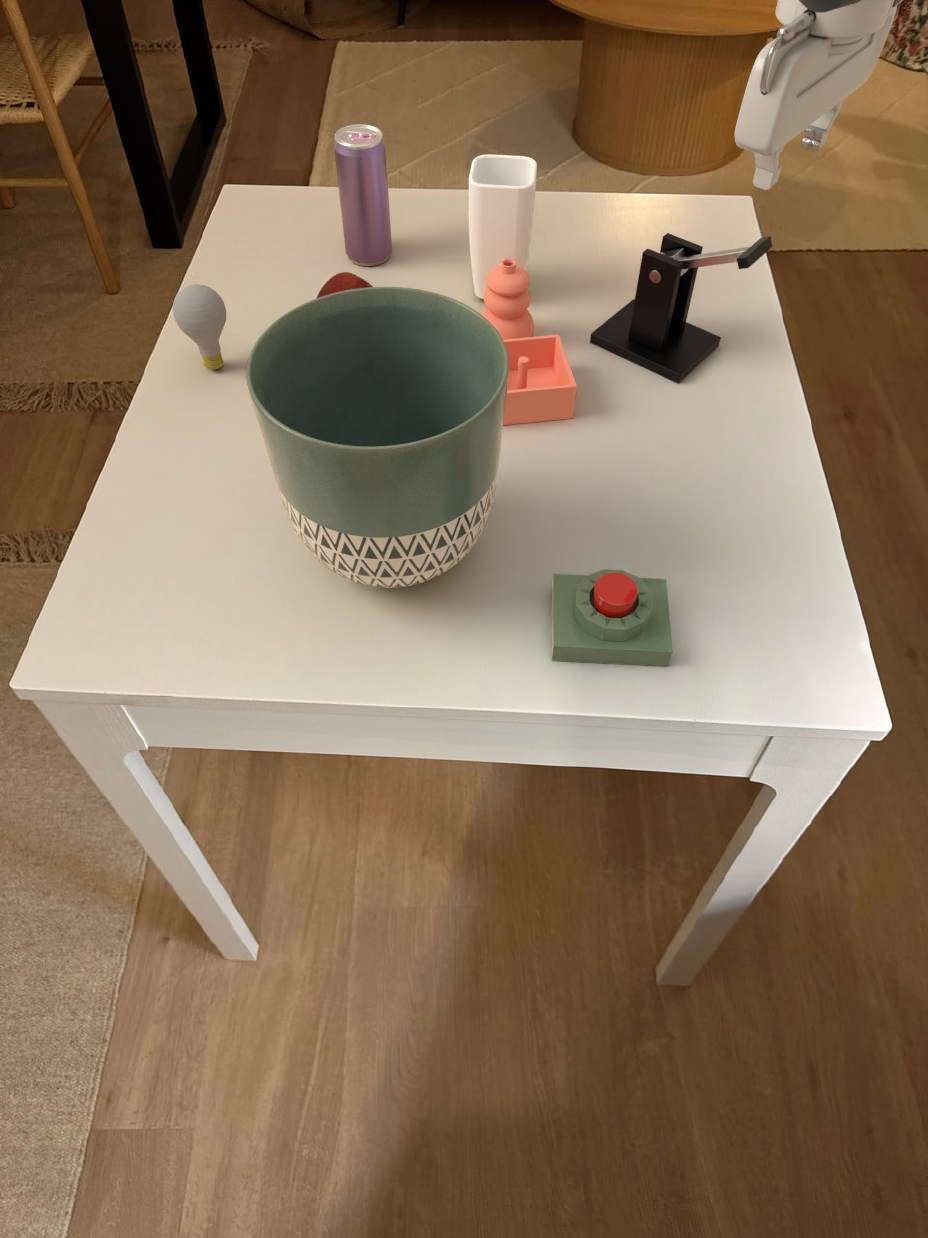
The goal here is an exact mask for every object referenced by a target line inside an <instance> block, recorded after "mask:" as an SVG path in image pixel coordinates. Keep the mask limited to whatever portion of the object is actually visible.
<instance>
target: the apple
mask: <svg viewBox="0 0 928 1238" xmlns="http://www.w3.org/2000/svg"><path fill="white" fill-rule="evenodd" d="M368 287H374V286H373V285H372V284H371V283H370V282H369V281H367V280H365V279H364V278H362V277H360V276H358V275H357V274H355V273H352V272H348V271H344V272H343V271H342V272H339V273H336V274H335V275H332V276H331V277H330V278H329V279H328V280H327V281H326V282H325V283H324V284H323V285H322V287H321V288H320V290H319V292H318V293H317V296H316V298H315V299H317V298H319V297H323V296H326V295H329V294H333V293H337V292H341V291H346V290H352V289H358V288H368Z"/></svg>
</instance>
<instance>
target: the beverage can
mask: <svg viewBox="0 0 928 1238" xmlns="http://www.w3.org/2000/svg"><path fill="white" fill-rule="evenodd" d="M333 150H334V160H335V169H336V176H337V177H336V178H337V186H338V187H337V188H338V195H339V196H338V197H339V203H340V204H339V205H340V213H341V222H342V231H343V238H344V249H345V254H346V256H347V257H348V259H349V260H350V261H351V262H352V263H353V264H355V265H358V266H362V267H374V266H379V265H382V264H383V263H386V262H387V261H388V259H389V258H390V257H391V254H392V253H393V242H392V227H391V225H392V224H391V212H390V211H391V210H390V197H389V182H388V167H387V153H386V142H385V140H384V134H383V132H382V131H381V129H380V128H379V127H376V126H374V125H369V124H365V123H363V124H362V123H358V124H350V125H345V126H343V127H341V128H339V129H338V130H336V132H335V134H334V144H333Z"/></svg>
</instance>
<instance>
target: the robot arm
mask: <svg viewBox="0 0 928 1238" xmlns="http://www.w3.org/2000/svg"><path fill="white" fill-rule="evenodd" d="M903 1H904V0H777V3H776V7H775V12H774V13H775V14H774V15H775V17H776V19H777V20H778V22H779V23H780V24H781V25H782V26H781V27H780V28H779V29H778V30H777V32H776V36H775V39H773V40H772V41H770V42H768V43H767V44H766V45H764V46H763V48H762V49H761V50H760V52H759V53H758V54H757V56H756V58H755V61H754V63H753V65H752V69H751V71H750V73H749V74H750V75H749V77H748V79H747V84H746V87H745V90H744V94H743V98H742V101H741V104H740V108H739V112H738V116H737V120H736V124H735V127H734V133H733V134H734V141H735V146H736V147H738V148H740V149H742V150H745V151H747V152H750V153H753V157H754V163H755V171H754V175H753V178H752V185H753V186H754V187H755V188H757V189H761V190H764V191H768V190H770V189H772V187H774V186H775V185H776V184H777V183H778V182H779V179H780V174H781V171H782V168H783V166H782V165H780V163H779V162H780V155H781V153H783V151H784V148H785V145H786V144H788V143H789V142H790V141H792V140H793V139H795V138H796V137H797V136H798V135H799V134H801V133H802V132H804V133H803V138H802V141H801V144H800V145H801V148H802V149H803V150H808V151H810V152H813V153H815V152H818V150H820V149H821V148H822V147H823V146H825V145H826V142H827V139H828V137H829V133H830V130H831V127H832V126H833V124H834V122H835V120H836V118H837V116H838V114H839V113H840V111H841V109H842V107H843V104H844V101H845V99H847V98H848V97H849V96H850V95H851V94H853V93H854V92H856V90H858V89H859V88H861V87H862V86H864V85H865V84H866V82H867V81H868V80H869V78H870V76H871V75H872V73H873V72H874V70H875V68H876V65H877V64H878V61H879V60H880V59H879V58H880V56H881V54H882V51H883V48H884V46H885V44H886V41H887V39H888V36H889V33H890V30H891V28H892V24H893V22H894V19H895V17H896V13H897V9H898V5H899V4H900V3H901V2H903Z"/></svg>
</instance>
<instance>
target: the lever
mask: <svg viewBox="0 0 928 1238" xmlns="http://www.w3.org/2000/svg"><path fill="white" fill-rule="evenodd" d="M772 248H773V242H772V237H771V236H764V237H760V238H759V239H758V240H757V241H756V242H754V243H753V244H752V245H751V246H746V247H739V248H732V249H726V250H718V251H712V252H705V253H701V254H698V255H692V256H685V253H684V249H683V248H682V249H675V250H669V251H663V252H661V253H660V252H659V253H660V254H663V255H665V256H668V257H670V258H673V259H675V260H677V261H680V262H682V263H683V266H682V271H681V276H682V275H683V274H684V273H685V272H687V271H688V269H689V268H696V267H698V268H703V267H710V266H717V265H718V266H719V265H724V264H732V263H737V269H738V270H744V269H749V268H750V267H752V265H754V264H755V263H756V262H757V261H758V260H759V259H761V258H762V257H763V256H764V255H766V253H768V251H769V250H771V249H772Z"/></svg>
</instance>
